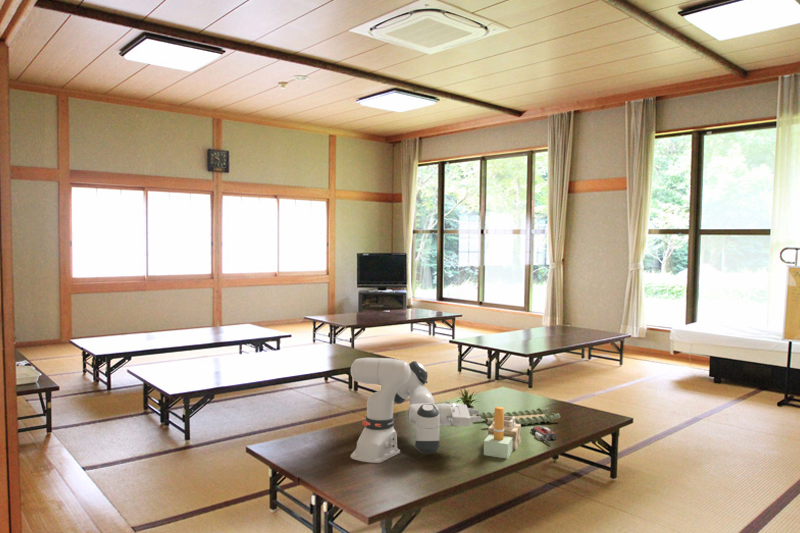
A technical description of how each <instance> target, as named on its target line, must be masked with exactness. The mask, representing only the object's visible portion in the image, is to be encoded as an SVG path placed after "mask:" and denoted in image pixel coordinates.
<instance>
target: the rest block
mask: <svg viewBox="0 0 800 533" xmlns="http://www.w3.org/2000/svg"><path fill="white" fill-rule="evenodd" d="M513 451H514V450H513V437H509V436H504V439H503V440H495V439H494V434H489V435H488V434H487V436H486V437H485V439H484V440H483V456H487V457H488V456H489V457H493V458H500V459H506V460H507V459H509V458H510V456H511V454H512V453H513Z"/></svg>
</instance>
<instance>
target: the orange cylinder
mask: <svg viewBox="0 0 800 533" xmlns="http://www.w3.org/2000/svg"><path fill="white" fill-rule="evenodd" d="M493 413H494V439H495V440H503V439H504V414H505V408H504V407H502V406H495V407H494V412H493Z"/></svg>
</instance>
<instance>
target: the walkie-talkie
mask: <svg viewBox="0 0 800 533" xmlns="http://www.w3.org/2000/svg"><path fill="white" fill-rule="evenodd" d="M530 432H531V433H532V434H534V436H535V438H536V439H537V440H538V441H544V442H545V443H547V444H549V445H552V442H551V441H552V440H551V439H553V441H554V440H556V439H557V433H555V432H554V431H552V429H550V428H549V427H547V426H544V425H541V426H540V425H539V426H538V425H537V426H535V425H534V426H533V427H532V428H530Z"/></svg>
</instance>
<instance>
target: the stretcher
mask: <svg viewBox="0 0 800 533" xmlns="http://www.w3.org/2000/svg"><path fill="white" fill-rule="evenodd" d="M549 412H550V409H549V407H545V408H540V407H538V408H536V410H535V409H531V410H529V409H526V410H524V411H522V410H520V411H518V412H517V411H513V412H509V411H508V412H505V413H504V416H510V417H515V423H516V424H521V426H522V425H525V426H527V425H530V424H531V425H532V426H533V425H535V424H538V425H540V424H541V423H542V422H544V423H547V422H549V421H550V422H551V423H552V422H553V421H554V420H557V419H560V418H561V415H560V413H558V412H557V413H554V412H553V413H551V414H550V415H549V414H546V413H549ZM475 416H480V417H481V420H482V419H483V420H484V421H485V422H484V423H485V425H486V424H487V425H491V424H492V423H493V422H494V412H490V411H489V412H486V413H485V412H484V411H482V412H479V414H478V415H475Z"/></svg>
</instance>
